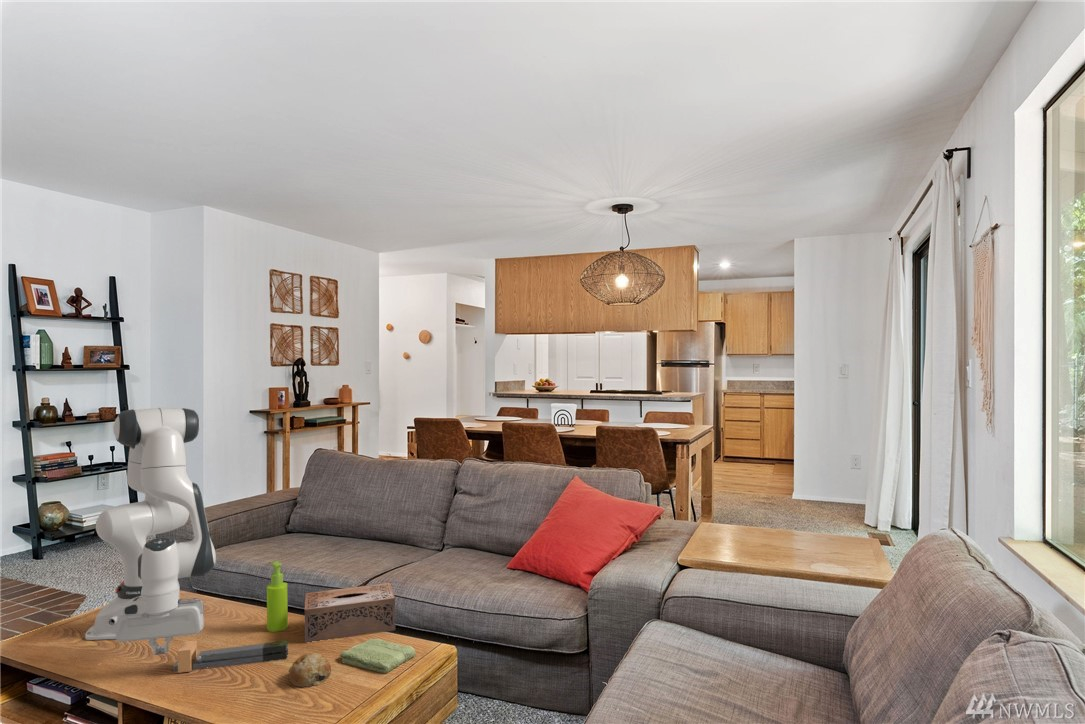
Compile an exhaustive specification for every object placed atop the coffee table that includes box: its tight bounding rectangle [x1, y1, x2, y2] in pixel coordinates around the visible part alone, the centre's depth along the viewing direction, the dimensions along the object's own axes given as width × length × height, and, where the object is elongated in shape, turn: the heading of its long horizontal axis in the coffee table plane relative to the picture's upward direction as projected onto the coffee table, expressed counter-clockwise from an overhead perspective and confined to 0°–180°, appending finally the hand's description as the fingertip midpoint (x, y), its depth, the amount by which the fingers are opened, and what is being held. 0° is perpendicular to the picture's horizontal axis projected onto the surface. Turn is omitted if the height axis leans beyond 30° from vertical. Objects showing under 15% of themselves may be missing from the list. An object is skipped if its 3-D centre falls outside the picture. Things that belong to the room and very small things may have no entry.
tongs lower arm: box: [173, 647, 289, 673], centre depth 173 cm, size 28×3×2 cm, turn 104°
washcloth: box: [339, 638, 417, 674], centre depth 175 cm, size 13×18×3 cm
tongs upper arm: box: [195, 640, 289, 662], centre depth 174 cm, size 23×3×2 cm, turn 104°
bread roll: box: [288, 652, 332, 688], centre depth 164 cm, size 10×10×8 cm
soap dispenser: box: [266, 560, 289, 633], centre depth 197 cm, size 6×7×20 cm
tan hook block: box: [177, 640, 198, 674], centre depth 171 cm, size 3×6×6 cm, turn 14°
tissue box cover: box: [304, 582, 396, 644], centre depth 196 cm, size 26×14×10 cm, turn 109°
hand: (161, 653), depth 169 cm, fingers closed
